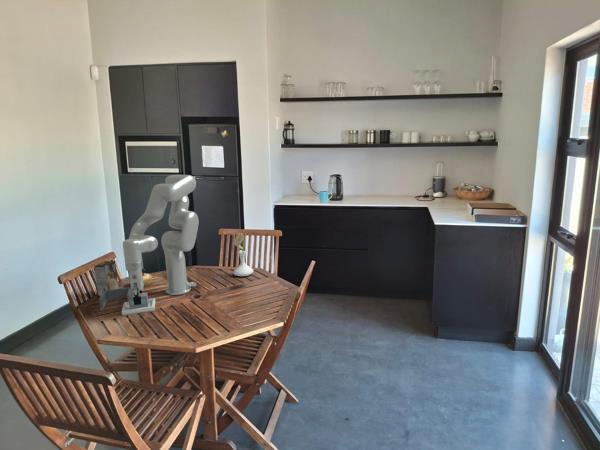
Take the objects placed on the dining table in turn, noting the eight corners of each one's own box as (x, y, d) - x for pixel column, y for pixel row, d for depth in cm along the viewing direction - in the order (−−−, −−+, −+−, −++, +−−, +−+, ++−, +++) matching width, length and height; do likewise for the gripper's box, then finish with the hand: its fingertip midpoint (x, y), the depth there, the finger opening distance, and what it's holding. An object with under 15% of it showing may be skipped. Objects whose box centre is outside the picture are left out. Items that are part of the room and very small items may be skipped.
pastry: (125, 288, 241) (123, 272, 239) (141, 281, 252) (138, 266, 250) (143, 289, 236) (140, 273, 235) (158, 282, 247) (155, 266, 245)
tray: (155, 302, 217) (155, 298, 217) (154, 311, 206) (154, 306, 205) (124, 306, 213) (124, 302, 213) (122, 315, 202) (121, 311, 202)
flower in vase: (232, 273, 258) (229, 230, 253) (252, 270, 260) (249, 228, 255) (234, 279, 245) (231, 235, 240) (255, 277, 248) (252, 233, 243)
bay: (133, 296, 227) (131, 286, 226) (130, 305, 214) (129, 295, 213) (104, 300, 223) (103, 290, 222) (100, 309, 210) (99, 299, 209)
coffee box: (108, 289, 239) (104, 260, 235) (119, 290, 237) (115, 260, 234) (97, 295, 230) (93, 265, 227) (109, 296, 228) (104, 266, 225)
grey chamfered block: (148, 304, 213) (147, 292, 212) (148, 308, 208) (146, 295, 207) (130, 306, 211) (129, 294, 210) (130, 310, 206) (128, 298, 205)
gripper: (141, 269, 198) (146, 306, 202) (143, 259, 215) (147, 293, 218) (123, 271, 196) (128, 308, 200) (127, 261, 213) (131, 295, 216)
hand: (138, 300), depth 209 cm, fingers open, 9 cm apart
